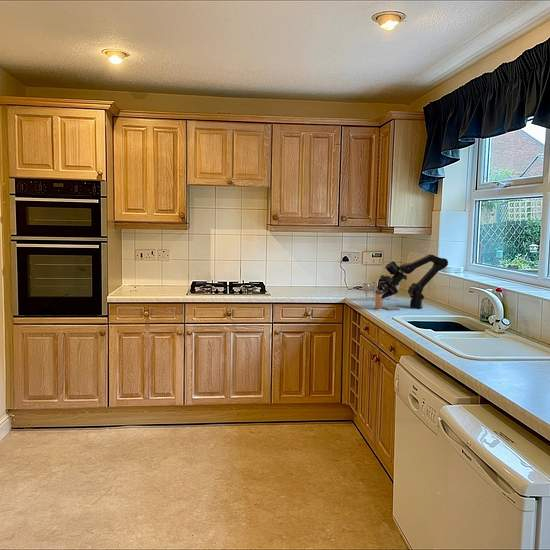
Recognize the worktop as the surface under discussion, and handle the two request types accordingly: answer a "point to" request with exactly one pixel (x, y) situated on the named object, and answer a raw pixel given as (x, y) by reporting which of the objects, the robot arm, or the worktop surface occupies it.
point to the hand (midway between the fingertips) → (378, 297)
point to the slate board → (390, 308)
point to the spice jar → (378, 299)
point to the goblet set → (374, 288)
